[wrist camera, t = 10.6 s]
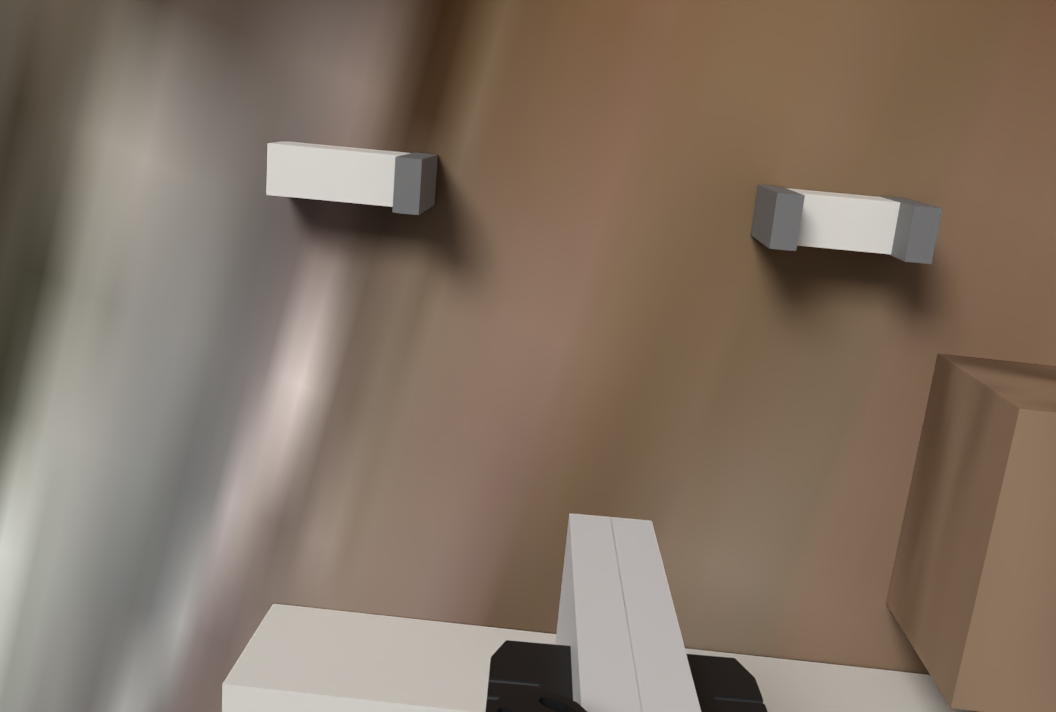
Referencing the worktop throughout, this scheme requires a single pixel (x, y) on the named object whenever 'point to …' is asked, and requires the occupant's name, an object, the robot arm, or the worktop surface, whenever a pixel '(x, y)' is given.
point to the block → (983, 537)
